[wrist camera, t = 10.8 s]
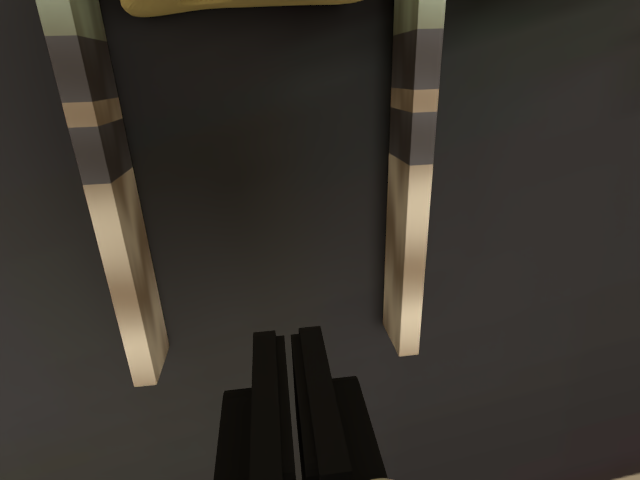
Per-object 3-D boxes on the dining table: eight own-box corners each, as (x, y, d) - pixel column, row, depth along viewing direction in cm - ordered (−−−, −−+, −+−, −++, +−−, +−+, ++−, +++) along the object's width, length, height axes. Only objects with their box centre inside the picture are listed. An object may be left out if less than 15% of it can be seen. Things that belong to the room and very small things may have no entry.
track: (-21, -401, 14) (-137, -599, 10) (436, -357, 16) (499, -507, 12) (149, 348, 26) (129, 400, 22) (400, 321, 28) (424, 365, 24)
